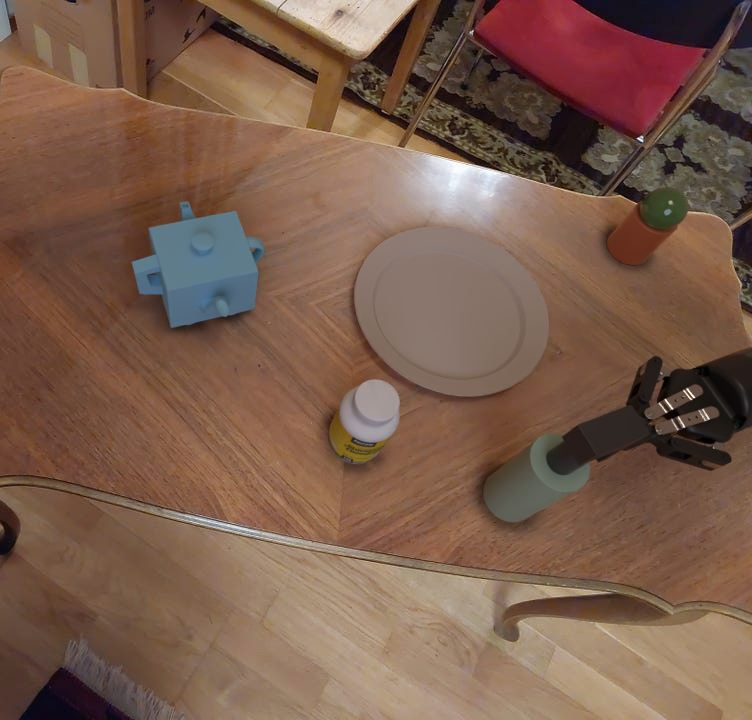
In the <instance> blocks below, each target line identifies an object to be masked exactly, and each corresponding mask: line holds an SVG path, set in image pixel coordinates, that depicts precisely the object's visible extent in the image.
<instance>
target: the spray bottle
mask: <svg viewBox="0 0 752 720" xmlns="http://www.w3.org/2000/svg"><path fill="white" fill-rule="evenodd" d="M649 434H650V431H649V430H648V428H647V427H646V425H645V420H644V419H643V417H641V416H639V415H638V414H637V412H636V411H635V409H634V408H633V406H632V405H628V406H626V405H625V406H623V407H620V408H618V409H615V410H612V411H610V412H608V413H604V414H603V415H600V416H598V417H595V418H592V419H589V420H587V421H584V422H581V423H579V424H577V425H575V426H574V427H573V428H571V429H570V430H569V431H567V432H566V433H564V434H562V433H557V432H549V433H545V434H542V435H540V436H539V437H537V438H536V439H535V440H533V441H532V442H531V443H530V444H528V445H527V446H526V447H525V448H523V449H522V450H520V451H519V452H518V453H517V454H516V455H514V456H513V457H512V458H511V459H510V460H508V461H507V462H505V463H504V464H503V465H502V466H500V467H498V469H497V470H495V471H494V472H493V473H491V474H490V475H489V476H488V477H487V478H486V479H485V482H484V483H483V488H482V497H483V501H484V503H485V505H486V507H487V509H488V510H489V511H490V513H491V514H492V515H494V517H496V518H498V519H499V520H501V521H504V522H507V523H520V522H523V521H524V520H526V519H528V518H530V517H532V516H534V515H535V514H538V513H539V512H541V511H542V510H545V509H546V508H548V507H550V506H552V505H553V504H555V503H557V502H558V501H560V500H562V499H564V498H566V497H567V496H570V495H571V494H573V493H575V492H576V491H578V490H580V489H582V488H583V487H584V486H585V485H586V484H587V482H588V480H589V478H590V474H591V464H590V463H591V462H593V461H597V460H596V459H598V458H601V457H603V456H606V455H608V454H611V453H613V452H615V451H618V450H620V449H623V448H625V447H628V446H630V445H632V444H634V443H636V442H637V441H639V440H641V439H642V438H644V437H646V436H647V435H649Z"/></svg>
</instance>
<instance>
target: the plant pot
mask: <svg viewBox="0 0 752 720" xmlns="http://www.w3.org/2000/svg"><path fill="white" fill-rule="evenodd" d="M689 205H690V204H689V201H688V198H687V196H686V194H684V192H682V191H681V190H679V189H677V188H675V187H670V186H663V187H659V188H655V189H654V190H652V191H650V192H648V193H647V194H646V195H645V196H644V197H643V199H642V200H640V201H639V202H637V203H636V204H635V205H634V207H633V208H632V209H631V210H630V211H629V212H628V213H627V215H626V216H625V217H624V218H623V219H622V220H621V221H620V223H619V224H618V225H617V226H616V227H615V229H614V230H613V231H612V232H611V233H610V234H609V236H607V239H606V248H607V250H608V252H609V254H610V255H611V256H612V257H613V258H614V259H615V260H617V261H619V262H620V263H621V264H625V265H628V266H639V265H641V264H644V263H645V262H646V261H647V260H648V259H649V258H651V256H652V255H653V254H654V253H655V252H656V251H657V250H658V249H659V248H660V247H661V246H662V245H663V244H664V243H665V242H666V241H667V240H668V239H669V238H670V237H671V236H672V235H673V234H674V233H675V232H676V231H677V230H678V228H679V225H681V223H683V222H684V220H685V219H686V218H687V216H688V213H689V207H690V206H689Z"/></svg>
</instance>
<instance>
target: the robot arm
mask: <svg viewBox="0 0 752 720" xmlns="http://www.w3.org/2000/svg"><path fill="white" fill-rule="evenodd" d="M663 364H664V361H663V359H662V357H660V356H658V355H653V356H652V357H651V358H649V359H648V360H647V361H645V362H643V364H641V365H640V366H638V368H637V371H636V374H635V377H634V379H633V382H632V385H631V388H630V390H629V394H628V396H627V400H626V402H625V406H628V405H632V406H633V408H634V409H635V411H636V412H637V414H638V415H639V416H641V417H643V419H644V420H645V425H646V427H647V428H648V430H649V431H650V434H649V435H647V436H646V437H644V438H642V439H641V440H639V441H637V442H636V443H634V444H632V445H630V446H628V447H627V448H625V449H623V450H622V451H621V452H628V451H631V450H632V449H633V450H634V449H635V448H637V447H640V446H643V445H645V444H650V445H652V446H653V447H654V448H655V451H656V453H657V455H659V456H660V457H663V458H666V459H669V460H673V461H675V462H679V463H682V464H685V465H689V466H692V467H696V468H698V469H702V470H705V471H709V472H713V471H716V470H718V469H720V468H723V467H725V466H726V465H729V464H731V462H732V461H733V459H732V456H731V454H729V452H727V451H726V448H725V447H726V446H725V443H727V442H729V441H731V439H732V438H733V436H734V434H737V433H738V432H741V431H744V430H746V429H748V428H750V427H752V346H750V347H746V348H742V349H740V350H737V351H734V352H732V353H729V354H727V355H723V356H721V357H718V358H716V359H714V360H711V361H707V362H706V363H703V364H700V365H698V366H694V367H692V368H682V367H681V368H675V369H673V370H672V369H670V368H669V367H666V366H665V365H663ZM661 381H662V384H661V387H660V389H659V391H658V394H657V397H656V403H655V404H654V405H651V404H650V401H652V398H653V394H654V391H655V390H656V389H655V388H656V385H657V384H658V383H660V382H661ZM661 418H662V419H665V420H664V421H661V422H657V423H656V424H653V425H652V424H651V423H654V422H656V421H658V420H659V419H661ZM677 436H678V437H677Z"/></svg>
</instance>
